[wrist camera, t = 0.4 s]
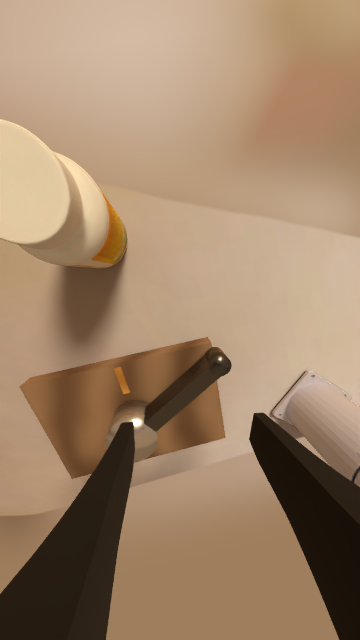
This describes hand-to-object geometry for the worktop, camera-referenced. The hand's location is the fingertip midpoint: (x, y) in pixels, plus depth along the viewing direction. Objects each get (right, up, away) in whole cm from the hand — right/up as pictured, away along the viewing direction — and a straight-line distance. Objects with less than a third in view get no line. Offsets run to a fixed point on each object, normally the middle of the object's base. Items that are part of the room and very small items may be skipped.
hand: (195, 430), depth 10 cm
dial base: (-6, -4, +11) cm, 13 cm away
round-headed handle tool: (-2, -1, +9) cm, 9 cm away
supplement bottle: (-8, +14, +6) cm, 17 cm away
